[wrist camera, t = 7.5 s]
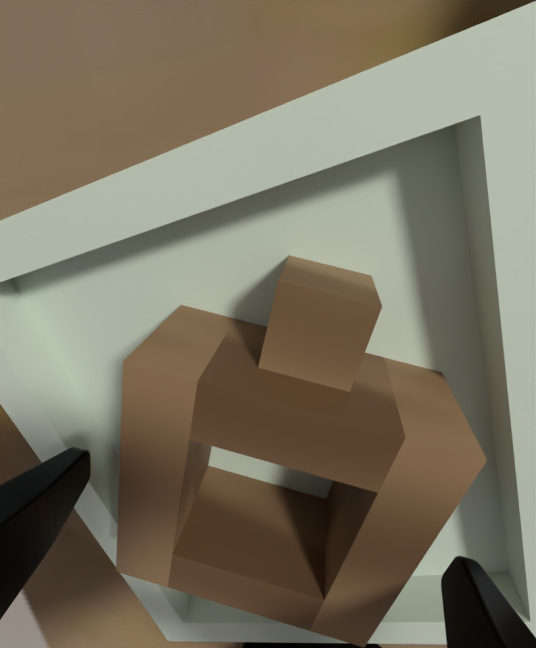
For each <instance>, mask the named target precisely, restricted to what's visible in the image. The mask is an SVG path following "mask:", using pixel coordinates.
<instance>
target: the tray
mask: <svg viewBox="0 0 536 648" xmlns="http://www.w3.org/2000/svg"><path fill="white" fill-rule="evenodd" d="M289 255H290V256H295V257H299V258H303V259H307V260H311V261H315V262H319V263H323V264H327V265H331V266H335V267H339V268H343V269H347V270H351V271H355V272H359V273H363V274H367V275H371V276H372V278H373V281H374V284H375V287H376V290H377V293H378V296H379V299H380V301H381V304H382V309H381V311H380V314H379V317H378V319H377V322H376V325H375V327H374V330H373V332H372V335H371V338H370V340H369V343H368V346H367V348H366V351H365V353H369V354H373V355H377V356H381V357H385V358H388V359H392V360H396V361H400V362H404V363H408V364H411V365H415V366H419V367H423V368H427V369H431V370H435V371H438V372H442V374H443V376H444V378H445V380H446V381H447V383H448V385H449V387H450V389H451V391H452V393H453V395H454V397H455V399H456V401H457V403H458V405H459V406H460V408H461V410H462V412H463V414H464V416H465V418H466V420H467V422H468V424H469V426H470V428H471V430H472V431H473V433H474V435H475V437H476V439H477V441H478V443H479V445H480V447H481V449H482V451H483V453H484V455H485V456H486V458H487V461H486V463H485V464H484V466H483V468H482V469H481V471H480V472H479V474H478V475H477V477H476V478H475V480H474V481H473V483H472V484H471V486H470V487H469V489H468V490H467V492H466V493H465V495H464V496H463V498H462V500H461V501H460V503H459V504H458V506H457V507H456V509H455V510H454V512H453V513H452V515H451V516H450V518H449V519H448V521H447V522H446V524H445V525H444V527H443V528H442V530H441V531H440V533H439V535H438V536H437V538H436V539H435V541H434V542H433V544H432V545H431V547H430V548H429V550H428V551H427V553H426V554H425V556H424V557H423V559H422V560H421V562H420V563H419V565H418V567H417V568H416V570H415V571H414V573H413V574H412V576H411V577H410V579H409V580H408V582H407V583H406V585H405V586H404V588H403V589H402V591H401V592H400V594H399V595H398V597H397V599H396V600H395V602H394V603H393V605H392V606H391V608H390V609H389V611H388V612H387V614H386V615H385V617H384V618H383V620H382V621H381V623H380V624H379V626H378V627H377V629H376V631H375V632H374V634H373V635H372V637H371V638H370V640H369V641H368V643H370V644H447V641H446V631H445V621H444V611H443V601H442V591H441V579H442V575H443V573H444V572H445V571H446V569H447V568H448V566H449V565H450V563H451V562H452V561H453V559H454V558H455V557H456V556H463V557H467V558H470V559H473V560H475V561H477V562H478V563H479V564H480V565H481V567H482V568H483V569H484V571H485V572H486V573H487V574H488V576H489V577H490V578H491V580H492V581H493V582H494V584H495V585H496V586H497V588H498V589H499V590H500V591H501V593H502V594H503V595H504V597H505V598H506V599H507V601H508V602H509V603H510V605H511V606H512V607H513V608H514V610H515V611H516V612H517V614H518V615H519V616H520V618H521V619H522V620H523V622H524V623H525V624H526V625H527V627H528V628H529V629H530V631H531V632H532V633H533V635H534V636H535V637H536V1H534V2H532V3H529V4H527V5H525V6H522V7H520V8H517V9H515V10H512V11H510V12H507V13H505V14H503V15H500V16H498V17H495V18H493V19H490V20H488V21H486V22H483V23H481V24H478V25H476V26H473V27H471V28H468V29H466V30H464V31H461V32H459V33H456V34H454V35H451V36H449V37H447V38H444V39H442V40H439V41H437V42H434V43H432V44H429V45H427V46H425V47H422V48H420V49H417V50H415V51H412V52H410V53H408V54H405V55H403V56H400V57H398V58H395V59H393V60H390V61H388V62H386V63H383V64H381V65H378V66H376V67H373V68H371V69H369V70H366V71H364V72H361V73H359V74H356V75H354V76H351V77H349V78H347V79H344V80H342V81H339V82H337V83H334V84H332V85H330V86H327V87H325V88H322V89H320V90H317V91H315V92H312V93H310V94H308V95H305V96H303V97H300V98H298V99H295V100H293V101H291V102H288V103H286V104H283V105H281V106H278V107H276V108H273V109H271V110H269V111H266V112H264V113H261V114H259V115H256V116H254V117H252V118H249V119H247V120H244V121H242V122H239V123H237V124H234V125H232V126H230V127H227V128H225V129H222V130H220V131H217V132H215V133H213V134H210V135H208V136H205V137H203V138H200V139H198V140H195V141H193V142H191V143H188V144H186V145H183V146H181V147H178V148H176V149H174V150H171V151H169V152H166V153H164V154H161V155H159V156H157V157H154V158H152V159H149V160H147V161H144V162H142V163H139V164H137V165H135V166H132V167H130V168H127V169H125V170H122V171H120V172H118V173H115V174H113V175H110V176H108V177H105V178H103V179H100V180H98V181H96V182H93V183H91V184H88V185H86V186H83V187H81V188H79V189H76V190H74V191H71V192H69V193H66V194H64V195H61V196H59V197H57V198H54V199H52V200H49V201H47V202H44V203H42V204H40V205H37V206H35V207H32V208H30V209H27V210H25V211H22V212H20V213H18V214H15V215H13V216H10V217H8V218H5V219H3V220H1V221H0V404H1V406H2V407H3V408H4V410H5V411H6V413H7V414H8V416H9V417H10V418H11V420H12V421H13V423H14V424H15V425H16V427H17V428H18V430H19V431H20V432H21V434H22V435H23V437H24V438H25V440H26V441H27V442H28V444H29V445H30V447H31V448H32V449H33V451H34V452H35V454H36V455H37V456H38V458H39V459H40V461H41V462H44V461H46V460H48V459H50V458H52V457H53V456H55V455H57V454H59V453H61V452H63V451H65V450H66V449H68V448H71V447H79V448H83V449H86V450H88V451H89V452H90V461H91V475H90V479H89V481H88V483H87V485H86V487H85V489H84V490H83V492H82V494H81V496H80V497H79V499H78V501H77V503H76V504H75V506H74V509H75V510H76V512H77V513H78V514H79V516H80V517H81V519H82V520H83V521H84V523H85V524H86V526H87V527H88V528H89V530H90V531H91V533H92V534H93V536H94V537H95V538H96V540H97V541H98V543H99V544H100V545H101V547H102V548H103V550H104V551H105V552H106V554H107V555H108V557H109V558H110V560H111V561H112V562H113V564H114V565H115V567H116V556H117V525H118V495H119V465H120V435H121V404H122V374H123V361H124V360H125V359H126V358H127V357H128V356H129V355H130V354H131V353H132V352H133V351H134V350H135V349H136V348H137V347H138V346H139V345H140V344H141V343H142V342H143V341H144V340H145V339H146V338H147V337H148V336H149V335H150V334H151V333H152V332H154V331H155V330H156V329H157V328H158V327H159V326H160V325H161V324H162V323H163V322H164V321H165V320H166V319H167V318H168V317H169V316H170V315H171V314H172V313H173V312H174V311H175V310H176V309H177V308H178V307H179V306H180V305H185V306H188V307H192V308H196V309H200V310H204V311H208V312H212V313H215V314H219V315H223V316H227V317H231V318H235V319H238V320H242V321H246V322H250V323H254V324H258V325H262V326H265V327H268V322H269V318H270V314H271V309H272V305H273V301H274V296H275V292H276V288H277V283H278V280H279V277H280V275H281V273H282V271H283V268H284V266H285V264H286V261H287V259H288V257H289ZM208 466H212V467H215V468H219V469H222V470H226V471H229V472H233V473H236V474H240V475H243V476H247V477H250V478H254V479H257V480H261V481H264V482H268V483H272V484H275V485H279V486H282V487H286V488H289V489H293V490H296V491H300V492H303V493H307V494H310V495H314V496H317V497H321V498H324V499H326V498H327V496H328V493H329V491H330V488H331V486H332V483H333V481H334V480H331V479H327V478H324V477H320V476H317V475H313V474H309V473H306V472H302V471H299V470H295V469H292V468H288V467H285V466H281V465H277V464H274V463H270V462H267V461H263V460H260V459H256V458H253V457H249V456H245V455H242V454H238V453H235V452H231V451H228V450H224V449H221V448H217V447H213V446H212V448H211V453H210V458H209V464H208ZM120 574H121V575H122V576H123V578H124V579H125V581H126V582H127V584H128V585H129V586H130V588H131V589H132V591H133V592H134V593H135V595H136V596H137V598H138V599H139V600H140V602H141V603H142V605H143V606H144V608H145V609H146V610H147V612H148V613H149V615H150V616H151V617H152V619H153V620H154V622H155V623H156V624H157V626H158V627H159V629H160V630H161V632H162V633H163V634H164V636H165V637H166V639H167V640H168V641H185V642H277V643H347V642H344V641H341V640H338V639H334V638H331V637H328V636H324V635H321V634H318V633H315V632H311V631H308V630H305V629H302V628H298V627H295V626H292V625H289V624H285V623H282V622H279V621H275V620H272V619H269V618H266V617H262V616H259V615H256V614H253V613H249V612H246V611H243V610H240V609H236V608H233V607H230V606H226V605H223V604H220V603H217V602H213V601H210V600H207V599H204V598H200V597H197V596H194V595H191V594H187V593H184V592H181V591H177V590H174V589H171V588H168V587H164V586H161V585H158V584H155V583H151V582H148V581H145V580H142V579H138V578H135V577H132V576H128V575H125V574H122V573H120Z"/></svg>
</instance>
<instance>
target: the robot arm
mask: <svg viewBox="0 0 536 648" xmlns="http://www.w3.org/2000/svg"><path fill="white" fill-rule="evenodd" d="M90 475H91V461H90V452H89V451H88V450H86V449H83V448H79V447H71V448H68V449H66V450H65V451H63V452H61V453H59V454H57V455H55V456H53V457H52V458H50V459H48V460H46V461H44V462H42V463H40V464H39V465H37V466H35V467H33V468H31V469H29V470H27V471H26V472H24V473H22V474H20V475H18V476H16V477H14V478H12V479H11V480H9V481H7V482H5V483H3V484H1V485H0V619H1V618H2V616H3V615H4V613H5V612H6V611H7V609H8V608H9V606H10V605H11V604H12V602H13V601H14V599H15V598H16V596H17V595H18V594H19V592H20V591H21V589H22V588H23V586H24V585H25V584H26V582H27V581H28V579H29V578H30V576H31V575H32V574H33V572H34V571H35V569H36V568H37V566H38V565H39V564H40V562H41V561H42V559H43V558H44V556H45V555H46V553H47V552H48V550H49V549H50V547H51V546H52V544H53V543H54V541H55V539H56V538H57V536H58V534H59V533H60V531H61V529H62V527H63V526H64V524H65V522H66V520H67V519H68V517H69V515H70V513H71V512H72V510H73V508H74V506H75V504H76V503H77V501H78V499H79V497H80V496H81V494H82V492H83V490H84V489H85V487H86V485H87V483H88V481H89V479H90ZM441 591H442V601H443V611H444V621H445V631H446V641H447V648H536V637H535V636H534V635H533V633H532V632H531V631H530V629H529V628H528V627H527V625H526V624H525V623H524V622H523V620H522V619H521V618H520V616H519V615H518V614H517V612H516V611H515V610H514V608H513V607H512V606H511V605H510V603H509V602H508V601H507V599H506V598H505V597H504V595H503V594H502V593H501V591H500V590H499V589H498V588H497V586H496V585H495V584H494V582H493V581H492V580H491V578H490V577H489V576H488V574H487V573H486V572H485V571H484V569H483V568H482V567H481V565H480V564H479V563H478V562H477V561H475V560H473V559H470V558H467V557H463V556H456V557H455V558H454V559H453V561H452V562H451V563H450V565H449V566H448V568H447V569H446V571H445V572H444V573H443V575H442V579H441ZM242 648H381V647H380V646H379V645H376V644H370V643H367V644H366V646H365V647H360V646H357V645H354V644H351V643H277V642H245V643H243V646H242Z"/></svg>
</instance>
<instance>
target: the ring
mask: <svg viewBox="0 0 536 648" xmlns="http://www.w3.org/2000/svg"><path fill="white" fill-rule="evenodd" d="M381 309H382V304H381V301H380V299H379V296H378V293H377V290H376V287H375V284H374V281H373V278H372V276H371V275H367V274H363V273H359V272H355V271H351V270H347V269H343V268H339V267H335V266H331V265H327V264H323V263H319V262H315V261H311V260H307V259H303V258H299V257H295V256H290V255H289V257H288V259H287V261H286V264H285V266H284V268H283V271H282V273H281V275H280V277H279V280H278V283H277V288H276V292H275V296H274V301H273V305H272V309H271V314H270V318H269V322H268V327H265V326H262V325H258V324H254V323H250V322H246V321H242V320H238V319H235V318H231V317H227V316H223V315H219V314H215V313H212V312H208V311H204V310H200V309H196V308H192V307H188V306H185V305H180V306H179V307H178V308H177V309H176V310H175V311H174V312H173V313H172V314H171V315H170V316H169V317H168V318H167V319H166V320H165V321H164V322H163V323H162V324H161V325H160V326H159V327H158V328H157V329H156V330H155V331H154V332H152V333H151V334H150V335H149V336H148V337H147V338H146V339H145V340H144V341H143V342H142V343H141V344H140V345H139V346H138V347H137V348H136V349H135V350H134V351H133V352H132V353H131V354H130V355H129V356H128V357H127V358H126V359H125V360H124V361H123V374H122V404H121V435H120V465H119V495H118V525H117V556H116V572H119V573H122V574H125V575H128V576H132V577H135V578H138V579H142V580H145V581H148V582H151V583H155V584H158V585H161V586H164V587H168V588H171V589H174V590H177V591H181V592H184V593H187V594H191V595H194V596H197V597H200V598H204V599H207V600H210V601H213V602H217V603H220V604H223V605H226V606H230V607H233V608H236V609H240V610H243V611H246V612H249V613H253V614H256V615H259V616H262V617H266V618H269V619H272V620H275V621H279V622H282V623H285V624H289V625H292V626H295V627H298V628H302V629H305V630H308V631H311V632H315V633H318V634H321V635H324V636H328V637H331V638H334V639H338V640H341V641H344V642H347V643H351V644H354V645H357V646H360V647H365V646H366V644H367V643H368V641H369V640H370V638H371V637H372V635H373V634H374V632H375V631H376V629H377V627H378V626H379V624H380V623H381V621H382V620H383V618H384V617H385V615H386V614H387V612H388V611H389V609H390V608H391V606H392V605H393V603H394V602H395V600H396V599H397V597H398V595H399V594H400V592H401V591H402V589H403V588H404V586H405V585H406V583H407V582H408V580H409V579H410V577H411V576H412V574H413V573H414V571H415V570H416V568H417V567H418V565H419V563H420V562H421V560H422V559H423V557H424V556H425V554H426V553H427V551H428V550H429V548H430V547H431V545H432V544H433V542H434V541H435V539H436V538H437V536H438V535H439V533H440V531H441V530H442V528H443V527H444V525H445V524H446V522H447V521H448V519H449V518H450V516H451V515H452V513H453V512H454V510H455V509H456V507H457V506H458V504H459V503H460V501H461V500H462V498H463V496H464V495H465V493H466V492H467V490H468V489H469V487H470V486H471V484H472V483H473V481H474V480H475V478H476V477H477V475H478V474H479V472H480V471H481V469H482V468H483V466H484V464H485V463H486V461H487V458H486V456H485V455H484V453H483V451H482V449H481V447H480V445H479V443H478V441H477V439H476V437H475V435H474V433H473V431H472V430H471V428H470V426H469V424H468V422H467V420H466V418H465V416H464V414H463V412H462V410H461V408H460V406H459V405H458V403H457V401H456V399H455V397H454V395H453V393H452V391H451V389H450V387H449V385H448V383H447V381H446V380H445V378H444V376H443V374H442V372H438V371H435V370H431V369H427V368H423V367H419V366H415V365H411V364H408V363H404V362H400V361H396V360H392V359H388V358H385V357H381V356H377V355H373V354H369V353H365V351H366V348H367V346H368V343H369V340H370V338H371V335H372V332H373V330H374V327H375V325H376V322H377V319H378V317H379V314H380V311H381ZM212 446H213V447H217V448H221V449H224V450H228V451H231V452H235V453H238V454H242V455H245V456H249V457H253V458H256V459H260V460H263V461H267V462H270V463H274V464H277V465H281V466H285V467H288V468H292V469H295V470H299V471H302V472H306V473H309V474H313V475H317V476H320V477H324V478H327V479H331V480H334V481H333V483H332V486H331V488H330V491H329V493H328V496H327V498H326V499H324V498H321V497H317V496H314V495H310V494H307V493H303V492H300V491H296V490H293V489H289V488H286V487H282V486H279V485H275V484H272V483H268V482H264V481H261V480H257V479H254V478H250V477H247V476H243V475H240V474H236V473H233V472H229V471H226V470H222V469H219V468H215V467H212V466H208V464H209V458H210V453H211V448H212Z"/></svg>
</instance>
